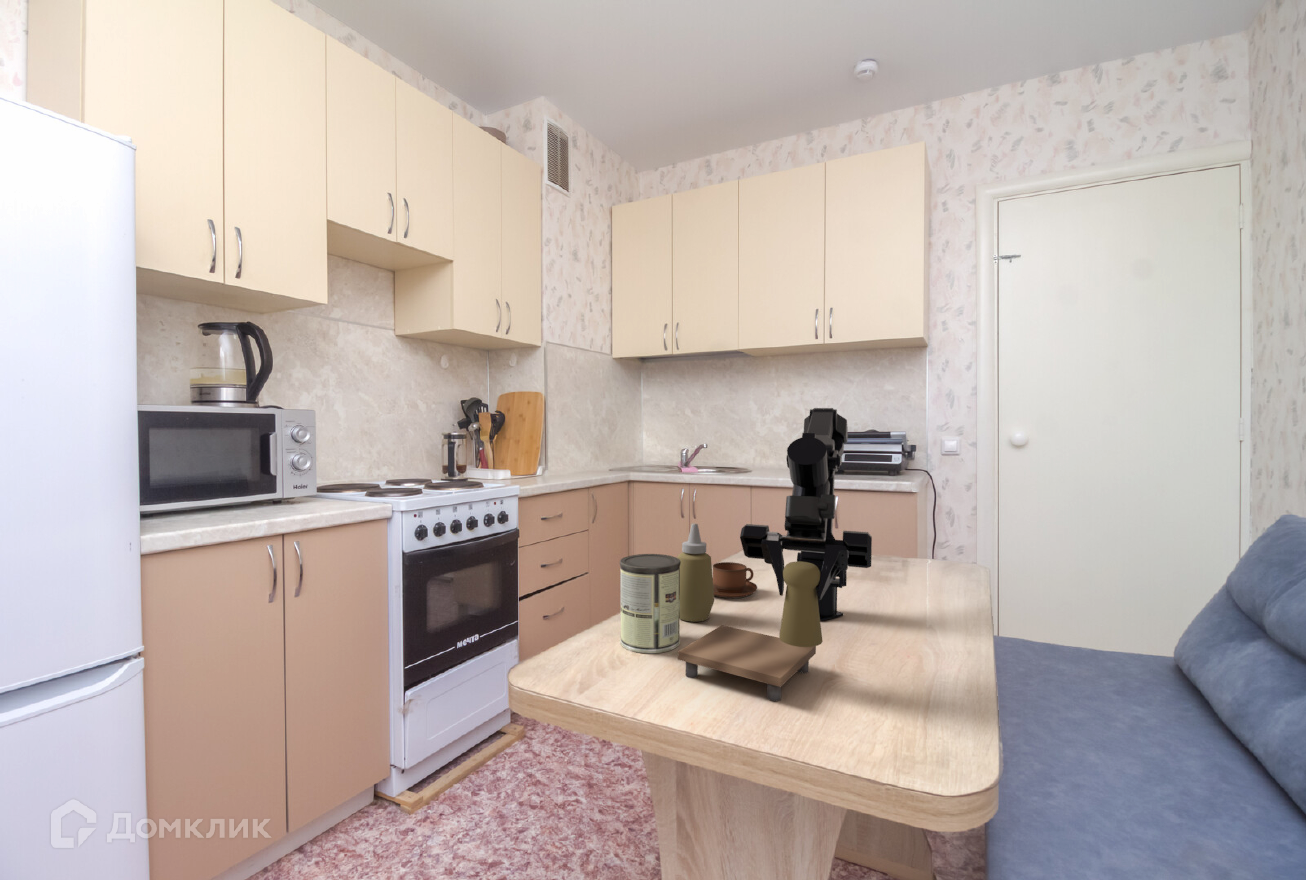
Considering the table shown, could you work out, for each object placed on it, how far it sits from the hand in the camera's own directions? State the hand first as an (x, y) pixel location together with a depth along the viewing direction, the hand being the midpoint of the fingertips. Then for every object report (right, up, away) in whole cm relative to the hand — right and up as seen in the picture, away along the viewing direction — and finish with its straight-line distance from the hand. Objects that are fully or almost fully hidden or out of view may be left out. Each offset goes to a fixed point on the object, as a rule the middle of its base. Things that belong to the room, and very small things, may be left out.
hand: (799, 596), depth 85 cm
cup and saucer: (-4, -12, +47) cm, 49 cm away
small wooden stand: (-7, -13, +6) cm, 16 cm away
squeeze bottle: (-13, -12, +31) cm, 35 cm away
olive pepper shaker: (0, -7, +2) cm, 7 cm away
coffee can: (-21, -13, +18) cm, 31 cm away
